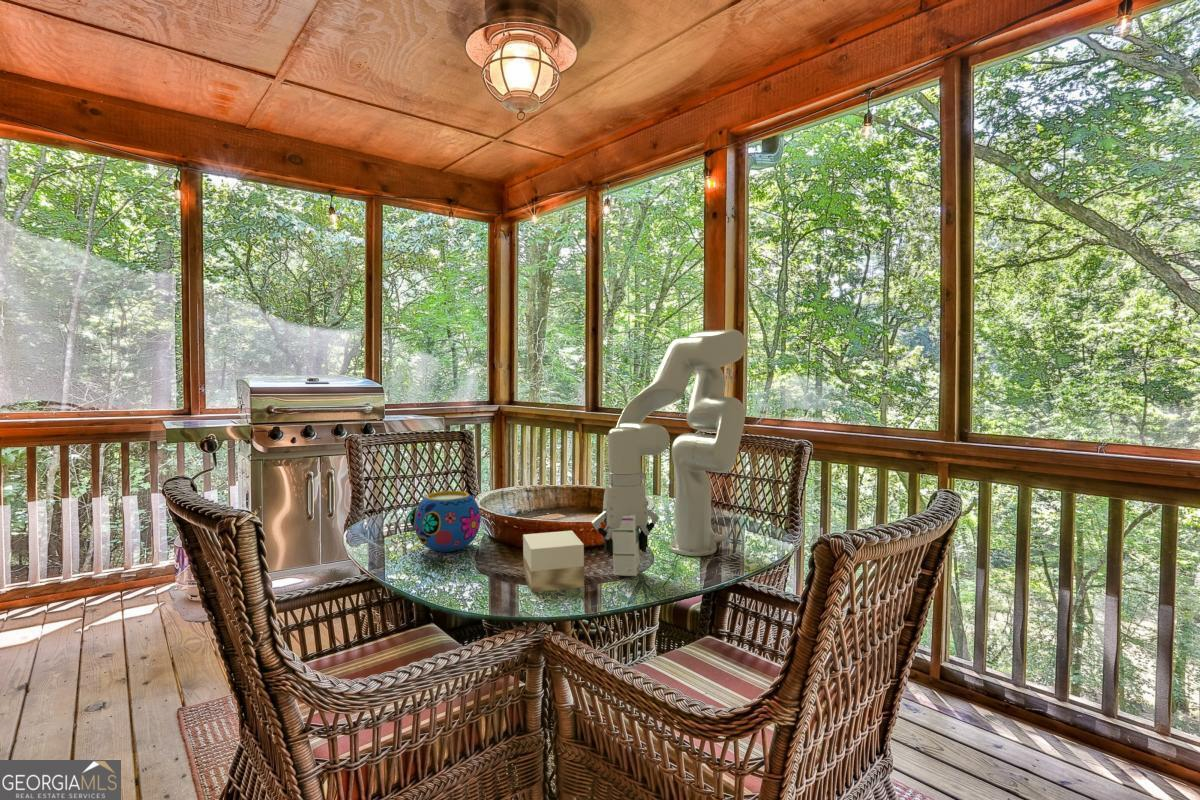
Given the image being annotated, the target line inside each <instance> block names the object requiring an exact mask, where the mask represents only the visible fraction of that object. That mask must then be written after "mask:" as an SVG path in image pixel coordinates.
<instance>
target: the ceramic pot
mask: <svg viewBox="0 0 1200 800" xmlns="http://www.w3.org/2000/svg"><path fill="white" fill-rule="evenodd" d="M481 517H482V515H481V512H480V507H479V505H478V503H477V501H476V499H475V498H474V497H473V496H472V494H470V493H468V492H465V491H460V490H445V491H444V490H443V491H436V492H432V493H429V494H427V495H426V496H424V497H423V499H421V501H420V503H418V505H416V506H415V507H413V508H412V509H411V511H410V512H409V517H408V518H409V519H408V521H409V523H410V525H411V526H412V528H414V530H415V533H416V535H417V538H418V539H419V541H420V542H421V544H422V545H423V546H425V547H426V548H428V549H431V550H433V551H436V552H441V553H443V552H445V553H448V552H455V551H458V550H461V549H463V548H465V547H467V546H469V545H470V544H471V543H473V541H474V540H475V539H476V537H477V534H478V532H479V529H480V526H481V521H482V520H481V519H482V518H481Z"/></svg>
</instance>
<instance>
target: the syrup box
mask: <svg viewBox="0 0 1200 800" xmlns="http://www.w3.org/2000/svg"><path fill="white" fill-rule="evenodd" d="M639 532H640V529H639V527H637V524H636V515H635V514H630V515H624V516H623V517H622V520H621V524H620V527H619V528H617V529H613V534H612V536H611V539H612V540H613V555H612V568H613V569H612V570H613V571H612V572H613V573H612V574H613V575H614V576H624V577H637V575H638V574H639V572H640V568H641V550H640V544H639Z"/></svg>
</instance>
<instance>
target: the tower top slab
mask: <svg viewBox="0 0 1200 800" xmlns="http://www.w3.org/2000/svg"><path fill="white" fill-rule="evenodd" d="M522 541H523V542H522V544H523V545H522V547H523V548H522V554H523V555H524V557H525V560H526V562H527V564H528V566H529V568H530V570H531V572H532V571H542V570H552V569H562V568H572V567H582V566H584V567H585V553H584V552H585V547H584V546H585V545H584V542H582V541H581V539H580V538H579V537H578V536H577V534H575V532H574V531H573V530H563V531H550V532H538V533H527V534H526V533H524V534H522Z"/></svg>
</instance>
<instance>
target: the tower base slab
mask: <svg viewBox="0 0 1200 800" xmlns="http://www.w3.org/2000/svg"><path fill="white" fill-rule="evenodd" d="M522 561H523V565H522V566H523V576H524V575H525V576H524V578H526V579H525V581H526V583H527V586H528V588H529V590H530V592H531V593H540V592H548V591H559V590H565V589H566V590H567V589H568V590H569V589H577V588H584V587H585V565H584V566H582V567H572V568H562V569H552V570H542V571H532V572H531V570H530V568H529V566H528V564H527V562H526V560H525V557H524V555H523V558H522Z"/></svg>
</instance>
